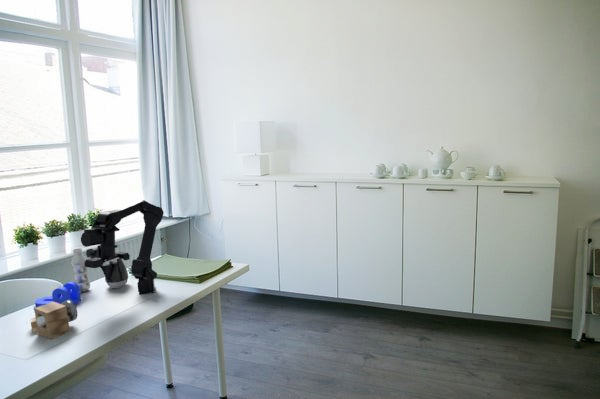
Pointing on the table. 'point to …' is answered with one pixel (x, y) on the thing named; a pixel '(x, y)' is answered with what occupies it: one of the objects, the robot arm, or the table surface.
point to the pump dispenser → (118, 276)
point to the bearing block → (53, 320)
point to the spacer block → (34, 324)
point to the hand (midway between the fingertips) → (108, 280)
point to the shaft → (70, 312)
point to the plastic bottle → (80, 270)
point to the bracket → (62, 295)
